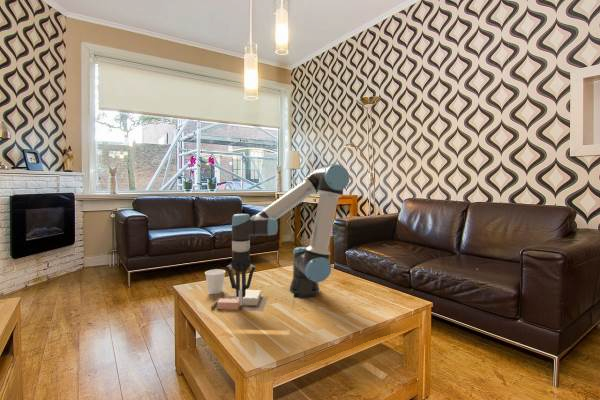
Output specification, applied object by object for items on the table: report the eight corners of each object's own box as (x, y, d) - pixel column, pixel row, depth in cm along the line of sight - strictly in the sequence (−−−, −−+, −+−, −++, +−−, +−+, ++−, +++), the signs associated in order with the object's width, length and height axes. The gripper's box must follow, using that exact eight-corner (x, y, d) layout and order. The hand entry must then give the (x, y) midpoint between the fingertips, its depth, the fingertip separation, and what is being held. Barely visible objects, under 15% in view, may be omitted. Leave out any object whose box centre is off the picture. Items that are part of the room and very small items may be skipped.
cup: (220, 298, 152) (220, 275, 151) (201, 296, 154) (201, 274, 153) (228, 291, 161) (228, 269, 161) (210, 289, 163) (210, 268, 163)
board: (268, 299, 151) (268, 293, 151) (262, 313, 134) (262, 307, 134) (222, 298, 152) (222, 292, 152) (211, 312, 135) (211, 306, 135)
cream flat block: (260, 296, 151) (260, 290, 151) (257, 305, 140) (257, 298, 140) (242, 296, 152) (242, 289, 151) (236, 304, 141) (236, 297, 140)
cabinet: (240, 305, 140) (240, 298, 140) (238, 309, 135) (238, 302, 135) (220, 304, 140) (220, 297, 140) (217, 309, 135) (217, 302, 135)
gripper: (257, 248, 140) (257, 301, 141) (228, 248, 140) (228, 300, 141) (254, 252, 132) (254, 307, 133) (223, 251, 133) (223, 307, 134)
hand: (240, 304), depth 137 cm, fingers closed
